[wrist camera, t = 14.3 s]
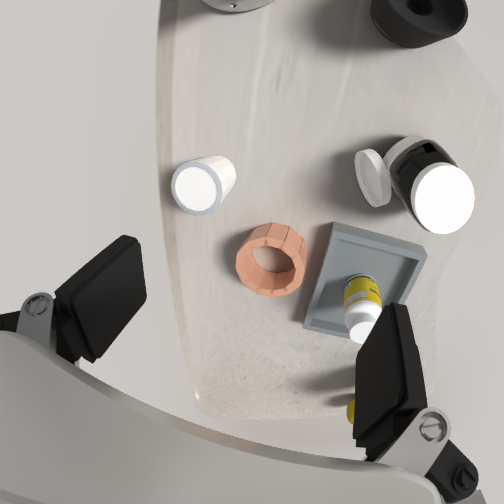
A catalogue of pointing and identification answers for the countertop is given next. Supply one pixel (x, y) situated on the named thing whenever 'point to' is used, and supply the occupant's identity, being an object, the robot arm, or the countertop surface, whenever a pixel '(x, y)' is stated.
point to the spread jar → (418, 183)
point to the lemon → (351, 411)
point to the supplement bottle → (361, 306)
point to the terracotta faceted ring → (267, 280)
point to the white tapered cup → (202, 184)
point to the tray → (360, 262)
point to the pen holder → (418, 20)
